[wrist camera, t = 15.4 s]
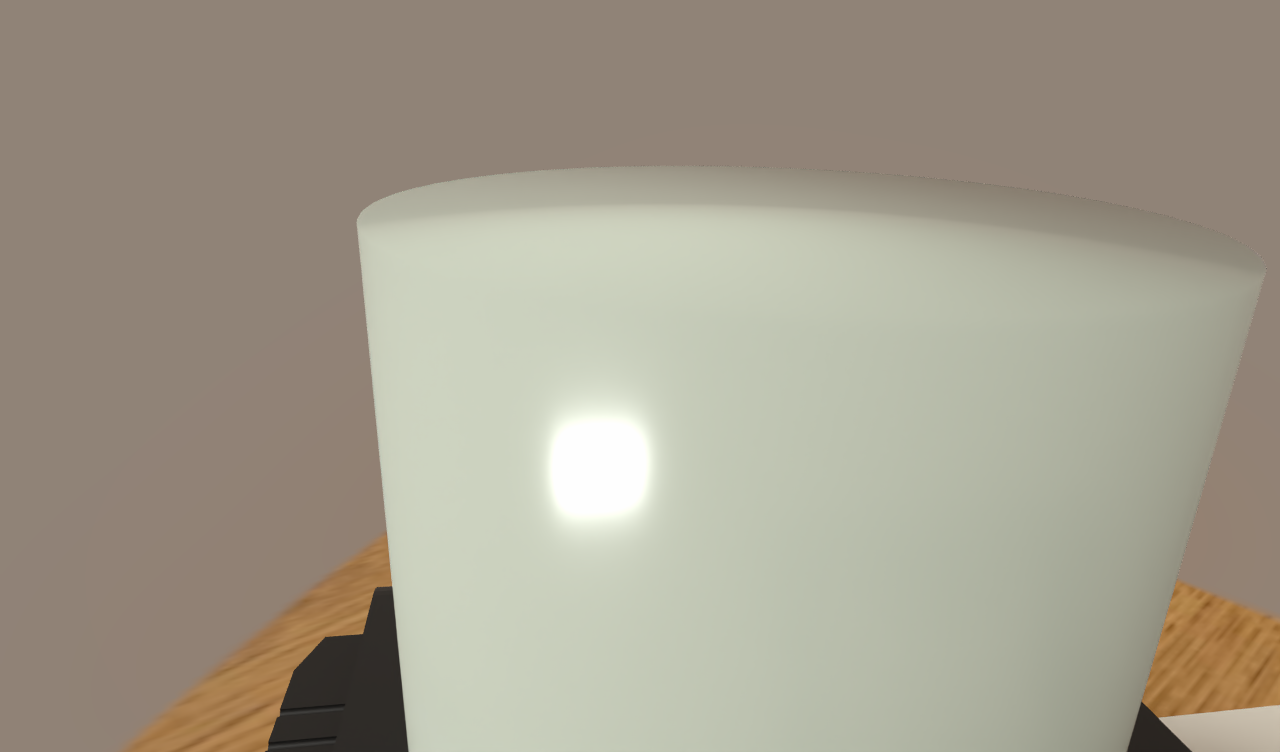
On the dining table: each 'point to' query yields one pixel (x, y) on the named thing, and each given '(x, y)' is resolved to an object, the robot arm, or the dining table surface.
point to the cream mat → (1229, 730)
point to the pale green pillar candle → (788, 456)
